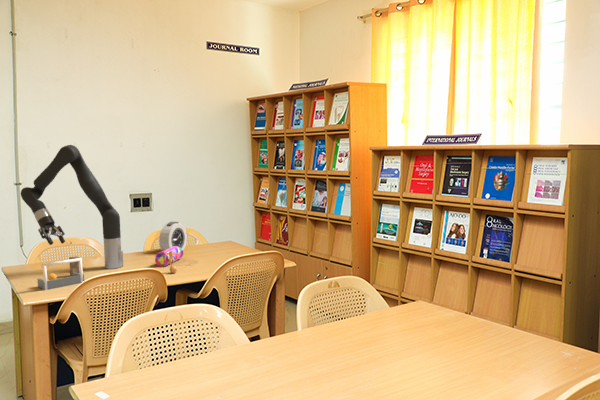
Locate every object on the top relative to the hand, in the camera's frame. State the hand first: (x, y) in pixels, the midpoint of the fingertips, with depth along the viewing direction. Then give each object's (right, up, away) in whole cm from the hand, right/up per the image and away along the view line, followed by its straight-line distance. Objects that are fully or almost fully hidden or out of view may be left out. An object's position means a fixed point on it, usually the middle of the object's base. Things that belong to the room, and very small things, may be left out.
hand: (57, 243), depth 271 cm
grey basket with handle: (+12, -19, -22) cm, 31 cm away
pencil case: (+54, -14, +26) cm, 62 cm away
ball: (+4, -16, -15) cm, 22 cm away
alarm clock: (+48, -11, +62) cm, 79 cm away
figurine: (+63, -16, +1) cm, 65 cm away
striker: (+11, -17, -3) cm, 21 cm away
